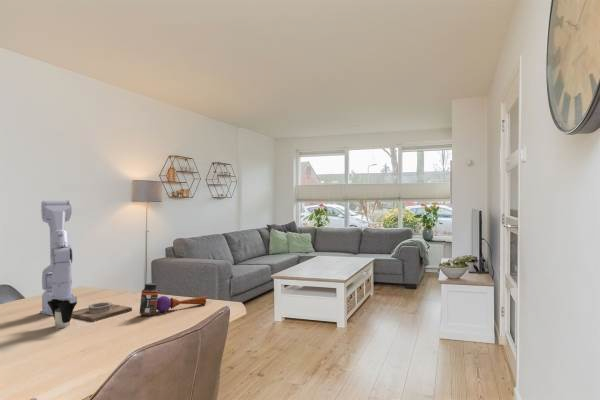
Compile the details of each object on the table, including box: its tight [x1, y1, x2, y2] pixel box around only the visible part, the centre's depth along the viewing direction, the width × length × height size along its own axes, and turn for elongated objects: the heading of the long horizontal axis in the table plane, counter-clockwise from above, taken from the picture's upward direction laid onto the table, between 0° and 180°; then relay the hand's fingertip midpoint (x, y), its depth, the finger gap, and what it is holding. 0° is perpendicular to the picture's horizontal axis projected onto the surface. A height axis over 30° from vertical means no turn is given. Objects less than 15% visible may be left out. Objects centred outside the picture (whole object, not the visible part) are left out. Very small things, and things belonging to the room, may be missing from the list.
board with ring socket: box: [71, 301, 133, 322], centre depth 153 cm, size 16×16×3 cm
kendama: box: [156, 295, 207, 313], centre depth 158 cm, size 6×6×20 cm
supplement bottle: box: [139, 282, 159, 316], centre depth 149 cm, size 6×6×11 cm
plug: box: [54, 308, 71, 329], centre depth 137 cm, size 4×4×6 cm
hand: (62, 321), depth 137 cm, fingers closed on plug, 4 cm apart
